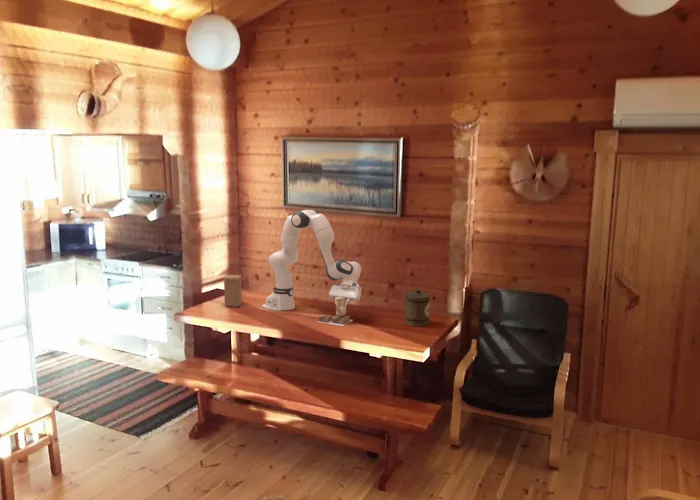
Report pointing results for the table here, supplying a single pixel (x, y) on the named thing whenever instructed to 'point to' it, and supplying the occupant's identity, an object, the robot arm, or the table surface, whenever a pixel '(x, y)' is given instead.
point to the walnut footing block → (325, 318)
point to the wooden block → (233, 290)
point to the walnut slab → (340, 319)
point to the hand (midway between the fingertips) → (340, 304)
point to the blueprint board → (335, 323)
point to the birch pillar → (340, 306)
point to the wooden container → (417, 308)
